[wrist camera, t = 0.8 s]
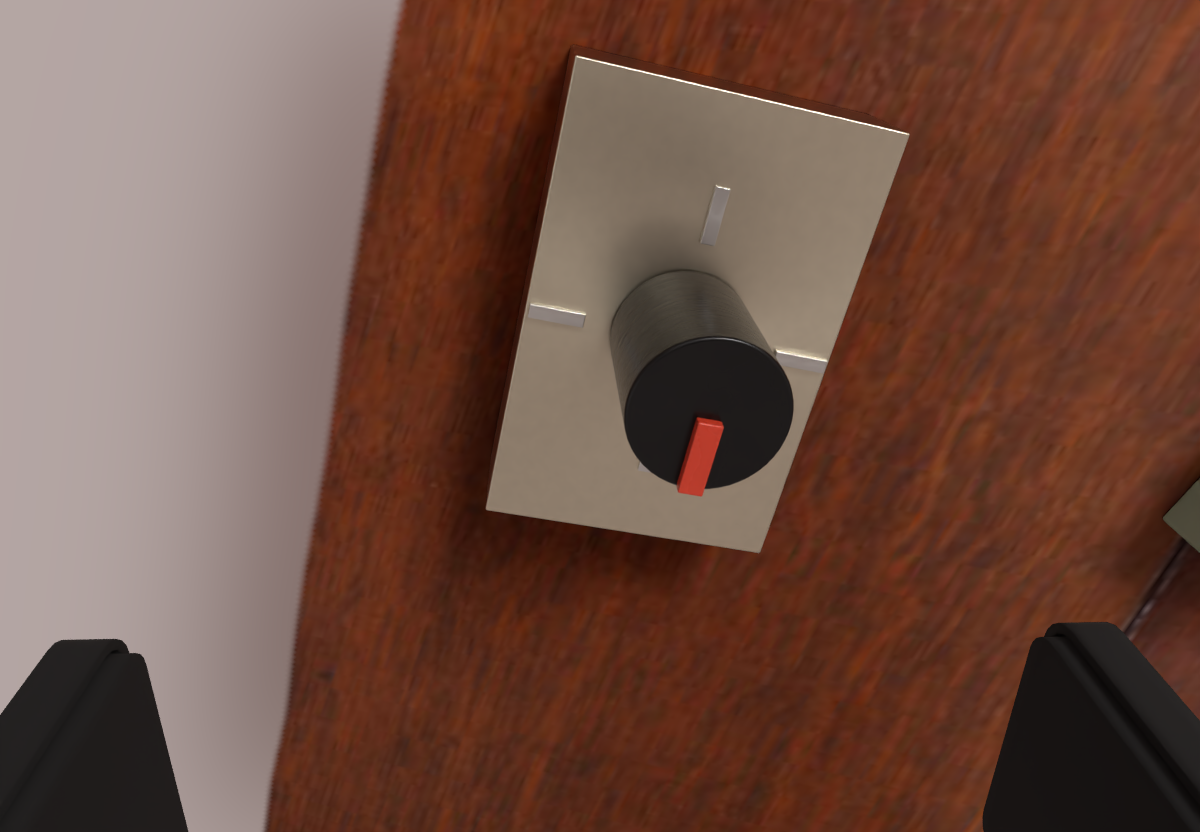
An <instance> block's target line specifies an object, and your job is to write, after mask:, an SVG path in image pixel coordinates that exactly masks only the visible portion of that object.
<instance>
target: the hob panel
mask: <svg viewBox="0 0 1200 832" xmlns="http://www.w3.org/2000/svg"><path fill="white" fill-rule="evenodd" d="M908 138H909V133H908V132H906V131H904V130H902V129H899V128H897V127H895V126H893V125H891V124H889V123H886V122H884V121H882V120H880V119H878V118H876V117H873V116H871V115H869V114H865V113H861V112H857V111H853V110H848V109H844V108H840V107H836V106H831V105H827V104H823V103H819V102H815V101H810V100H806V99H802V98H798V97H793V96H789V95H785V94H781V93H776V92H772V91H768V90H764V89H760V88H755V87H751V86H747V85H743V84H738V83H734V82H730V81H726V80H721V79H717V78H713V77H709V76H705V75H700V74H696V73H692V72H688V71H683V70H679V69H675V68H671V67H667V66H662V65H658V64H654V63H650V62H645V61H641V60H637V59H633V58H628V57H624V56H620V55H616V54H612V53H607V52H603V51H599V50H595V49H590V48H586V47H582V46H578V45H574V44H573V45H571V48H570V53H569V58H568V63H567V69H566V74H565V79H564V84H563V89H562V94H561V99H560V104H559V110H558V115H557V120H556V125H555V130H554V135H553V140H552V145H551V150H550V156H549V161H548V166H547V171H546V176H545V181H544V186H543V191H542V197H541V202H540V207H539V212H538V217H537V222H536V227H535V232H534V237H533V243H532V248H531V253H530V258H529V263H528V268H527V273H526V278H525V284H524V289H523V294H522V299H521V304H520V309H519V314H518V319H517V324H516V330H515V335H514V340H513V345H512V350H511V355H510V360H509V365H508V370H507V376H506V381H505V386H504V391H503V396H502V401H501V406H500V411H499V417H498V422H497V427H496V432H495V437H494V442H493V447H492V452H491V458H490V467H489V477H488V487H487V497H486V506H485V509H486V510H489V511H495V512H502V513H508V514H514V515H521V516H527V517H533V518H540V519H546V520H552V521H559V522H565V523H572V524H578V525H584V526H591V527H597V528H603V529H610V530H616V531H622V532H629V533H635V534H641V535H648V536H654V537H660V538H667V539H673V540H679V541H686V542H692V543H698V544H705V545H711V546H717V547H724V548H730V549H737V550H743V551H749V552H756V553H760V552H761V549H762V546H763V543H764V540H765V538H766V535H767V532H768V529H769V526H770V524H771V521H772V518H773V515H774V513H775V510H776V507H777V504H778V501H779V499H780V496H781V493H782V490H783V487H784V485H785V482H786V479H787V476H788V473H789V471H790V468H791V465H792V462H793V459H794V457H795V454H796V451H797V448H798V445H799V443H800V440H801V437H802V434H803V431H804V429H805V426H806V423H807V420H808V417H809V415H810V412H811V409H812V406H813V403H814V401H815V398H816V395H817V392H818V389H819V387H820V384H821V381H822V378H823V376H824V373H825V370H826V367H827V364H828V362H829V359H830V356H831V353H832V350H833V348H834V345H835V342H836V339H837V336H838V334H839V331H840V328H841V325H842V322H843V320H844V317H845V314H846V311H847V308H848V306H849V303H850V300H851V297H852V294H853V292H854V289H855V286H856V283H857V280H858V278H859V275H860V272H861V269H862V266H863V264H864V261H865V258H866V255H867V253H868V250H869V247H870V244H871V241H872V239H873V236H874V233H875V230H876V227H877V225H878V222H879V219H880V216H881V213H882V211H883V208H884V205H885V202H886V199H887V197H888V194H889V191H890V188H891V185H892V183H893V180H894V177H895V174H896V171H897V169H898V166H899V163H900V160H901V157H902V155H903V152H904V149H905V146H906V143H907V141H908ZM677 271H693V272H700V273H704V274H708V275H710V276H713V277H715V278H717V279H719V280H721V281H723V282H724V283H726V284H727V285H728V286H729V287H731V288H732V289H733V290H734V291H735V292H736V293H737V294H738V296H739V297H740V298H741V300H742V301H743V303H744V304H745V306H746V308H747V310H748V311H749V313H750V315H751V316H752V318H753V320H754V321H755V323H756V325H757V326H758V328H759V330H760V331H761V333H762V335H763V336H764V338H765V340H766V341H767V343H768V345H769V346H770V348H771V350H772V351H773V353H774V355H775V356H776V358H777V360H778V361H779V363H780V365H781V366H782V368H783V370H784V371H785V373H786V376H787V378H788V380H789V382H790V385H791V388H792V393H793V399H794V412H793V419H792V423H791V427H790V430H789V433H788V435H787V437H786V440H785V441H784V443H783V445H782V447H781V448H780V450H779V451H778V452H777V454H776V455H775V456H774V457H773V458H772V459H771V460H770V462H769V463H768V464H767V465H765V466H764V467H763V468H762V469H760V470H759V471H758V472H756V473H755V474H753V475H752V476H750V477H748V478H746V479H744V480H742V481H740V482H737V483H735V484H732V485H729V486H724V487H720V488H713V489H704V492H703V495H702V496H701V497H700V496H694V495H688V494H682V493H678V491H677V487H676V485H674V484H671V483H669V482H667V481H665V480H663V479H661V478H659V477H657V476H656V475H654V474H653V473H651V472H650V471H649V470H648V469H647V468H646V467H644V466H643V465H642V464H641V462H640V461H639V460H638V459H637V457H636V456H635V454H634V453H633V451H632V449H631V447H630V445H629V443H628V440H627V437H626V433H625V428H624V423H623V417H622V411H621V406H620V400H619V395H618V389H617V384H616V378H615V372H614V367H613V361H612V356H611V349H610V334H611V328H612V324H613V321H614V318H615V316H616V314H617V312H618V310H619V308H620V306H621V305H622V303H623V302H624V301H625V299H626V298H627V297H628V296H629V295H630V294H631V293H632V292H633V291H634V290H635V289H636V288H638V287H639V286H640V285H642V284H643V283H645V282H646V281H648V280H650V279H652V278H654V277H657V276H659V275H662V274H666V273H670V272H677Z"/></svg>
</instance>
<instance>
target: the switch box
mask: <svg viewBox="0 0 1200 832" xmlns="http://www.w3.org/2000/svg"><path fill="white" fill-rule="evenodd" d="M1163 520H1164V521H1165V522H1166V523H1167V524H1168V525H1169V526H1170V527H1171V528H1173V529H1174V530H1175V531H1176V532H1177V533H1178V534H1179V535H1180V536H1182V537H1183V538H1184V539H1185V540H1186V541H1187V542H1188V543H1189V544H1190V545H1192V546H1193V547H1194V548H1195V549H1196V550H1197V551H1198V552H1199V553H1200V478H1199V479H1198V480H1197V481H1196V482H1195V483H1194V485H1193V486H1192V487H1191V488H1190V489H1189V490H1188V491H1187V492H1186V493H1185V494H1184V495H1183V496H1182V497H1181V499H1180V500H1179V501H1178V502H1177V503H1176V504H1175V505H1174V506H1173V507H1172V508H1171V509H1170V510H1169V512H1168V513H1167V514H1166V515H1165V516H1164V517H1163Z"/></svg>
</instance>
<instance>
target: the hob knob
mask: <svg viewBox="0 0 1200 832" xmlns="http://www.w3.org/2000/svg"><path fill="white" fill-rule="evenodd" d="M610 349H611V356H612V361H613V367H614V372H615V378H616V384H617V389H618V395H619V400H620V406H621V411H622V417H623V423H624V428H625V433H626V437H627V440H628V443H629V445H630V447H631V449H632V451H633V453H634V454H635V456H636V457H637V459H638V460H639V461H640V462H641V464H642V465H643V466H644V467H646V468H647V469H648V470H649V471H650V472H651V473H653V474H654V475H656V476H657V477H659V478H661V479H663V480H665V481H667V482H669V483H671V484H674V485H676V487H677V491H678V493H682V494H688V495H694V496H700V497H701V496H702V495H703V492H704V489H713V488H720V487H724V486H729V485H732V484H735V483H737V482H740V481H742V480H744V479H746V478H748V477H750V476H752V475H753V474H755V473H756V472H758V471H759V470H760V469H762V468H763V467H764V466H765V465H767V464H768V463H769V462H770V460H771V459H772V458H773V457H774V456H775V455H776V454H777V452H778V451H779V450H780V448H781V447H782V445H783V443H784V441H785V440H786V437H787V435H788V433H789V430H790V427H791V423H792V419H793V412H794V399H793V393H792V388H791V385H790V382H789V380H788V378H787V376H786V373H785V371H784V370H783V368H782V366H781V365H780V363H779V361H778V360H777V358H776V356H775V355H774V353H773V351H772V350H771V348H770V346H769V345H768V343H767V341H766V340H765V338H764V336H763V335H762V333H761V331H760V330H759V328H758V326H757V325H756V323H755V321H754V320H753V318H752V316H751V315H750V313H749V311H748V310H747V308H746V306H745V304H744V303H743V301H742V300H741V298H740V297H739V296H738V294H737V293H736V292H735V291H734V290H733V289H732V288H731V287H729V286H728V285H727V284H726V283H724V282H723V281H721V280H719V279H717V278H715V277H713V276H710V275H708V274H704V273H700V272H693V271H677V272H670V273H666V274H662V275H659V276H657V277H654V278H652V279H650V280H648V281H646V282H645V283H643V284H642V285H640V286H639V287H638V288H636V289H635V290H634V291H633V292H632V293H631V294H630V295H629V296H628V297H627V298H626V299H625V301H624V302H623V303H622V305H621V306H620V308H619V310H618V312H617V314H616V316H615V318H614V321H613V324H612V328H611V334H610Z"/></svg>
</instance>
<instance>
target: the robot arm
mask: <svg viewBox="0 0 1200 832" xmlns="http://www.w3.org/2000/svg"><path fill="white" fill-rule="evenodd" d="M983 830H984V832H1200V721H1199V719H1198V718H1197V717H1196V716H1195V715H1194V714H1193V712H1192V711H1191V710H1190V709H1189V708H1188V707H1187V706H1186V704H1185V703H1184V702H1183V701H1182V700H1181V699H1180V697H1179V696H1178V695H1177V694H1176V693H1175V692H1174V691H1173V689H1172V688H1171V687H1170V686H1169V685H1168V684H1167V683H1166V681H1165V680H1164V679H1163V678H1162V677H1161V676H1160V674H1159V673H1158V672H1157V671H1156V670H1155V669H1154V668H1153V666H1152V665H1151V664H1150V663H1149V662H1148V661H1147V659H1146V658H1145V657H1144V656H1143V655H1142V654H1141V653H1140V651H1139V650H1138V649H1137V648H1136V647H1135V646H1134V645H1133V643H1132V642H1131V641H1130V640H1129V639H1128V638H1127V636H1126V635H1125V634H1124V633H1123V632H1122V631H1121V630H1120V629H1119V628H1118V627H1117V626H1115V625H1114V624H1111V623H1108V622H1084V623H1056V624H1052V625H1051V626H1050V627H1049V628H1048V629H1047V631H1046V633H1045V636H1044V637H1039V638H1036V639H1035V640H1034V641H1033V642H1032V645H1031V647H1030V650H1029V654H1028V657H1027V661H1026V664H1025V668H1024V671H1023V674H1022V678H1021V681H1020V685H1019V688H1018V692H1017V695H1016V699H1015V702H1014V706H1013V709H1012V713H1011V716H1010V720H1009V723H1008V727H1007V730H1006V734H1005V737H1004V741H1003V744H1002V748H1001V751H1000V755H999V758H998V762H997V765H996V769H995V772H994V776H993V779H992V783H991V786H990V790H989V793H988V797H987V800H986V804H985V807H984V812H983ZM0 832H188V829H187V825H186V820H185V817H184V813H183V809H182V805H181V801H180V797H179V793H178V789H177V785H176V781H175V777H174V773H173V769H172V765H171V761H170V757H169V753H168V749H167V745H166V741H165V737H164V734H163V729H162V725H161V722H160V717H159V714H158V709H157V705H156V701H155V698H154V694H153V690H152V686H151V682H150V678H149V674H148V670H147V666H146V663H145V660H144V658H143V657H142V656H141V655H140V654H137V653H129V651H128V648H127V646H126V644H125V643H124V642H123V641H122V640H118V639H93V640H92V639H89V640H61V641H58V642H56V643H54V645H52V647H51V648H50V649H49V650H48V651H47V652H46V653H45V655H44V656H43V658H42V659H41V660H40V662H39V663H38V664H37V666H36V667H35V668H34V670H33V671H32V672H31V674H30V675H29V677H28V678H27V679H26V681H25V682H24V683H23V685H22V686H21V687H20V689H19V690H18V691H17V693H16V694H15V696H14V697H13V698H12V700H11V701H10V702H9V704H8V705H7V706H6V708H5V709H4V711H3V712H2V713H1V715H0Z"/></svg>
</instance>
